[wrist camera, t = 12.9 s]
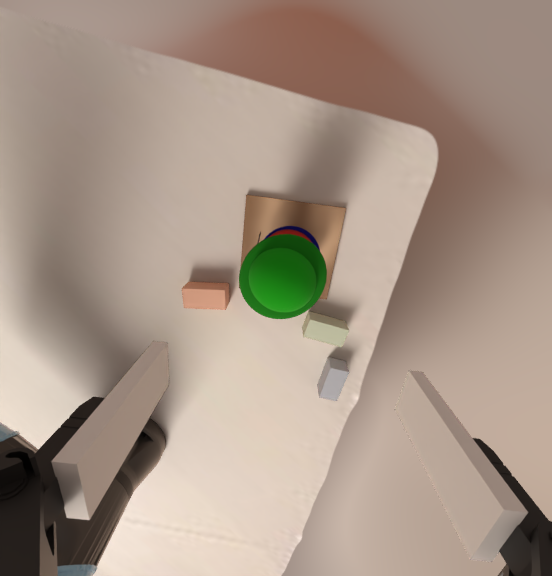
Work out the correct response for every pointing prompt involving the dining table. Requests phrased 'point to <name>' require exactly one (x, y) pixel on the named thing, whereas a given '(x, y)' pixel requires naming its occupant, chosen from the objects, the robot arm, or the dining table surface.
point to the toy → (283, 273)
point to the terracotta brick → (206, 295)
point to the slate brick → (332, 379)
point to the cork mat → (308, 216)
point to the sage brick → (325, 329)
